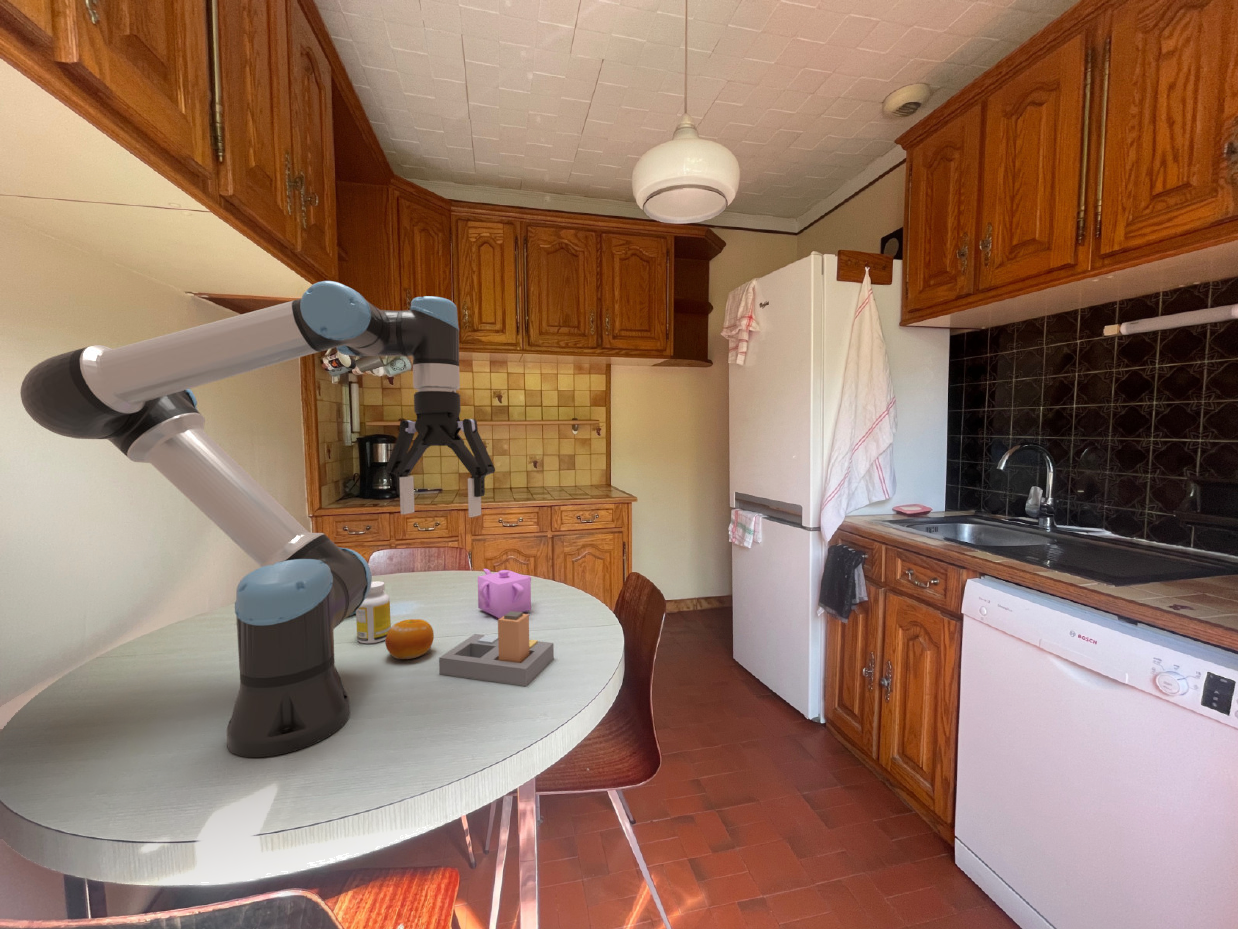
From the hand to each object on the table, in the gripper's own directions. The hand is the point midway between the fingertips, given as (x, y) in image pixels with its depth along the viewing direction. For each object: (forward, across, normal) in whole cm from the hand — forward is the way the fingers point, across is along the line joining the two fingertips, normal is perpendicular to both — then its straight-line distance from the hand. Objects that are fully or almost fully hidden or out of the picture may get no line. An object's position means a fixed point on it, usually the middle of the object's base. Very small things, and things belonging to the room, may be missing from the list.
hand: (440, 514), depth 90 cm
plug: (+29, -11, -5) cm, 31 cm away
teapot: (+29, +7, -34) cm, 45 cm away
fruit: (+29, +12, -6) cm, 32 cm away
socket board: (+29, -7, -6) cm, 30 cm away
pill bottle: (+29, +25, -11) cm, 40 cm away
